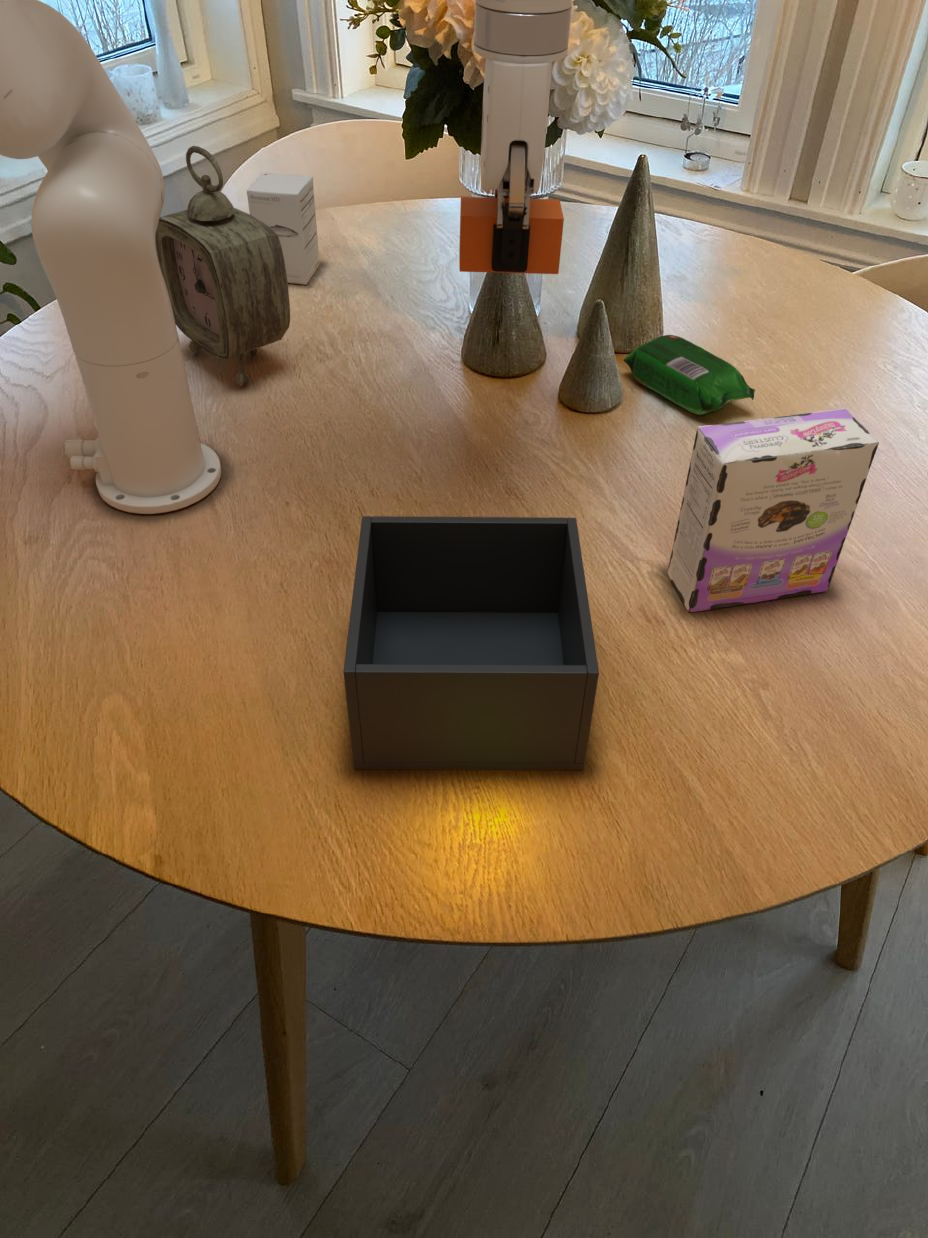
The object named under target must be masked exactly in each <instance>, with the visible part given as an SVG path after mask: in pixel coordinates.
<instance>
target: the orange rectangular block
mask: <svg viewBox="0 0 928 1238" xmlns="http://www.w3.org/2000/svg"><path fill="white" fill-rule="evenodd" d="M508 199H509V198H504V205H505V203H508ZM497 201H498V198H494V197H486V196H485V197H481V196H461V197H460V208H459V210H460V211H459V214H460V215H459V244H458V245H459V247H458V249H459V251H458V253H459V255H458V256H459V259H458V260H459V262H458V263H459V265H458V266H459V267H458V268H459V270H458V271H459V272H461V273H493V274H494V273H497V274H498V273H499V274H500V273H501V274H531V275H532V274H533V275H534V274H535V275H538V274H539V275H559V272H560V263H561V254H562V253H561V252H562V242H563V234H564V233H563V232H564V222H565V218H564V213H563V208H562V204H561V199H552V198H551V199H550V198H548V199H547V198H530V209H529V225H530V238H529V251H528V265H527V270H526V271H525V272H496V271H493V270H492V265H491V264H492V244H493V224H497ZM503 215H504V214H503Z"/></svg>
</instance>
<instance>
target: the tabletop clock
mask: <svg viewBox="0 0 928 1238" xmlns="http://www.w3.org/2000/svg"><path fill="white" fill-rule="evenodd" d="M193 154H199V155H200V156H202V157H204V158H205V159H207V160H208V162H209V163H210V164H211V165H212V167H213V169H214V171H215V172H216V175H217V177H218V183H217V185H213V183H212V178H211V176H210V175H209V174H203V175H202V176H201V177H200V176H199V175H198V174H197V172H196V171H195V170H194V169H193V166H192V161H191V158H192V155H193ZM185 162H186V166H187V169H188V172H189V174H190V176H191V178H192V179H193V180H194V181H195V183H196V184H197V185H199V186H200V187H201V188H202V190H200V191H197V192H196V193H195V194H194V195H193V196H192V197H191V198H190V199H189V202H188V204H187V209H184V210H180V211H177V212H174V213H170V214H167V215H163V216H160V218H159V223H158V227H157V230H156V235H155V242H156V250H157V256H158V261H159V265H160V269H161V272H162V275H163V278H164V281H165V284H166V288H167V291H168V294H169V298H170V302H171V306H172V310H173V314H174V319H175V324H176V328H178V329H179V331H181V332H182V334H183V335H184V336H185V337H187V338H188V339H189V340H190V342H189V343H188V350H189V351H190V352H191V353H192V354H196V355H197V354H200V353H201V352H202V350H203V351H206V352H207V353H209V354H210V355H212V356H213V357H215V358H218V359H220V360H224V361H225V360H231V359H233V358H236V357H237V360H238V368H239V373H237V374H236V375H235V383H236V384H237V386H239V387H242V388H243V387H246V386H247V385H248V384H249V383H250V376H249V374H247V373H246V372H245V371H246V370H245V369H246V357H248V358H249V359H254V358H256V357H257V355H258V352H259V351H258V349H260V348H262V347H265V346H268V345H271V344H273V343H276V342H278V341H281V340H282V339H283V338H284V336H285V334H286V332H287V331H288V329H289V328H290V325H291V324H290V323H291V305H290V304H291V303H290V294H289V283H288V282H287V275H286V268H285V262H284V256H283V251H282V247H281V243H280V240H279V237H278V235H277V234H276V233H275V232H274V230H273V229H272V228H271V227H269V226H268V225H266V224H265V223H263V222H262V221H260V220H258V219H257V218H255V217H253V216H252V215H250V213H248V212H245V211H242V210H240V209H238V208H236V207H234V205H233V203H232V202H231V200H230V199H229V198H228V196H227V195H226V194H224V193H223V192H222V191H221V190H222V188H223V186H224V177H223V172H222V170H221V166H220V165H219V163H218V161H217V159H216V158H215V156H214V155H212V153H210V152H209V151H208V150H207V149H205V148H202V147H201V146H199V145H198V146H197V145H192V146H190V147H188V148H187V151H186V153H185Z"/></svg>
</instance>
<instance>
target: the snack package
mask: <svg viewBox="0 0 928 1238" xmlns="http://www.w3.org/2000/svg"><path fill="white" fill-rule="evenodd" d="M622 361H623V363H625V364H626V365H627V366H628V367H629V370H630V371H631V373H632V375H633V377H634V379H636V381H638V382H639V384H641V385H642V386H644V387H646V388H648V389H649V390H651V391H653V392H655V393H657V394H658V395H660V396H662V397H663V398H665V399H667V400H669V401H670V402H672V403H674V404H675V405H677V406H678V407H681V408H683V409H684V410H687V411H688V412H690V413H692V414H695V415H698V416H703V415H705V414H708V413H710V412H716V411H719V410H720V409H722V408H723V407H724V406H725V405H726V404H728V403H732V402H735V401H739V400H744V399H748V398H749V399H751V400H752V401H754V399H755V393H756V389H755V388H752V387H751V386H750V385H749V384H748V383H747V382H746V380H745V377H744V376H743V375H742V373H740V371H739V370H738V369H737V368H736V367H735V366H734V365H732V363H729V362H728V361H726V360H724V359H723V358H721V357H719V356H717V355H715V354H713V353H712V352H710V351H708V350H706V349H704V348H703V347H701V346H699V345H697V344H695V343H693V342H692V341H689V340H687V339H685V338H683V337H681V336H678V335H674V334H665V335H661V336H657V337H655V338H653V339H651V340H650V341H648V342H646V343H643V344H641V345H639V346H637V347H635V348H634V349H633V350H632V351H631V352H630V353H629V354H628V355H627V356H626V357H625V358H623V360H622Z"/></svg>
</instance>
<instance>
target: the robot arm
mask: <svg viewBox="0 0 928 1238" xmlns="http://www.w3.org/2000/svg"><path fill="white" fill-rule="evenodd" d="M474 4H475V5H474V36H473V51H474V53H475V54H476V55H478V56H480V57H482V58H484V59H485V65H484V66H485V67H484V78H483V89H482V90H483V92H482V95H483V96H482V112H481V113H482V115H481V117H482V118H481V140H480V141H481V142H480V159H479V160H480V161H479V162H480V163H479V165H480V181H481V189H482V190H483V191H484V192H485V193H487V194H490V192H491V191H494V194H493V195H494V196H493V198H498V201H497V224H493V244H492V264H491V265H492V270H493V271H496V272H525V271H526V270H527V265H528V251H529V238H530V225H529V209H530V199H531V195H534V194H535V193H536V192H538V191H539V190H540V187H541V180H542V171H543V165H544V158H545V157H544V156H545V148H546V137H547V129H548V116H549V104H550V97H551V96H550V95H551V84H552V83H551V80H552V70H553V69H552V68H553V62H557V61H560V60H563V59H565V58H566V57H567V56H568V52H569V41H570V30H571V18H572V8H573V7H572V6H573V0H475V2H474ZM0 156H3V157H6V158H9V159H13V160H28V159H33V158H36V157H38V159H39V160H40V162H41V163H42V165H43V166H44V167H45V169H46V170H47V172H46V173H45V175H44V177H43V178H42V181H41V183H40V184H39V186H38V189H37V190H36V193H35V197H34V200H33V204H32V205H33V206H32V209H31V210H32V211H31V234H32V239H33V245H34V247H35V251H36V255H37V257H38V260H39V262H40V265H41V266H42V268H43V271H44V273H45V275H46V277H47V280H48V282H49V284H50V287H51V288H52V291H53V293H54V296H55V298H56V301H57V303H58V306H59V309H60V312H61V316H62V318H63V322H64V325H65V327H66V331H67V335H68V337H69V342H70V345H71V348H72V350H73V353H74V356H75V361H76V364H77V367H78V370H79V374H80V377H81V381H82V385H83V388H84V391H85V394H86V398H87V401H88V404H89V408H90V412H91V415H92V418H93V422H94V425H95V429H96V433H97V437H96V438H95V440H93V439H91V440H90V439H89V440H88V439H87V440H86V439H66V440H65V441H64V454H65V456H66V458H68V459H69V463H70V464H69V465H70V468H71V469H72V470H94V471H95V472H96V475H95V485H96V489H97V491H98V495H99V496H100V497H101V499H102V500H103V501H104V502H105V503H106V504H108V505H109V506H110V507H113V508H115V509H117V510H119V511H123V512H127V513H132V514H140V515H155V514H164V513H169V512H173V511H178V510H181V509H184V508H187V507H189V506H191V505H194V504H196V503H198V502H199V501H201V500H202V499H204V498H206V497H207V496H208V495H209V494H211V492H213V490H214V489H215V488H216V487H217V485H218V484H219V482H220V479H221V477H222V466H221V465H222V464H221V460H220V458H219V456H218V454H217V453H216V452H215V450H214V449H213V448H211V447H210V446H208V445H207V444H205V443H202V442H201V437H200V434H199V429H198V424H197V419H196V414H195V410H194V405H193V399H192V395H191V390H190V385H189V381H188V376H187V372H186V371H187V370H186V366H185V361H184V357H183V352H182V347H181V342H180V337H179V333H178V329H177V325H176V324H175V319H174V314H173V310H172V306H171V302H170V298H169V294H168V291H167V288H166V284H165V281H164V278H163V275H162V272H161V269H160V265H159V261H158V256H157V250H156V242H155V235H156V230H157V227H158V223H159V218H160V217H161V215H162V211H163V207H164V203H165V192H166V191H165V189H166V188H165V180H164V175H163V172H162V171H163V170H162V168H161V165H160V164H159V160H158V159H157V157H156V155H155V153H154V151H153V149H152V147H151V145H150V143H149V142H148V140H147V138H146V136H145V135H144V133H143V132H142V130H141V128H140V126H139V125H138V123H137V122H136V120H135V118H134V116H133V115H132V113H131V112H130V110H129V109H128V107H127V105H126V103H125V101H124V100H123V98H122V97H121V95H120V93H119V92H118V90H117V88H116V87H115V85H114V83H113V82H112V80H111V79H110V77H109V75H108V74H107V71H106V70H105V68H104V66H103V65H102V63H101V62H100V60H99V59H98V56H97V55H96V54H95V52H94V50H93V49H92V47H91V46H90V45H89V42H88V41H87V40H86V38H85V37H84V36H83V35H82V34H81V32H80V31H79V30H78V29H77V28H76V27H75V25H74V24H73V23H72V22H71V21H70V20H69V19H68V18H66V16H65V15H64V14H62V13H61V12H60V11H58V10H57V9H56V8H54V7H52V6H50V5H49V4H47V3H45V2H43V1H41V0H0ZM504 198H509V199H508V203H505V205H504ZM503 214H504V215H503Z"/></svg>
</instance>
